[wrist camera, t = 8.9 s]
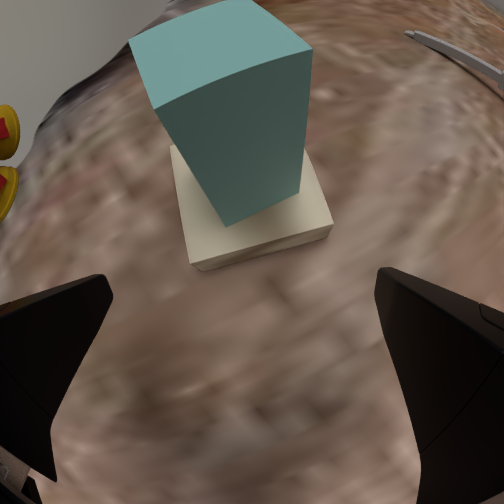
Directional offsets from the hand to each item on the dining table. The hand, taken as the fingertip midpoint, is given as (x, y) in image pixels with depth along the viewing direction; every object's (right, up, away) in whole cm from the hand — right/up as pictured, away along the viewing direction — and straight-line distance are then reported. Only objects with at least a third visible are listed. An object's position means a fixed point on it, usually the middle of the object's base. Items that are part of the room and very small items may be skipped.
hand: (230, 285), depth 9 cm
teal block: (0, +6, +9) cm, 11 cm away
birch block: (0, +5, +13) cm, 14 cm away
